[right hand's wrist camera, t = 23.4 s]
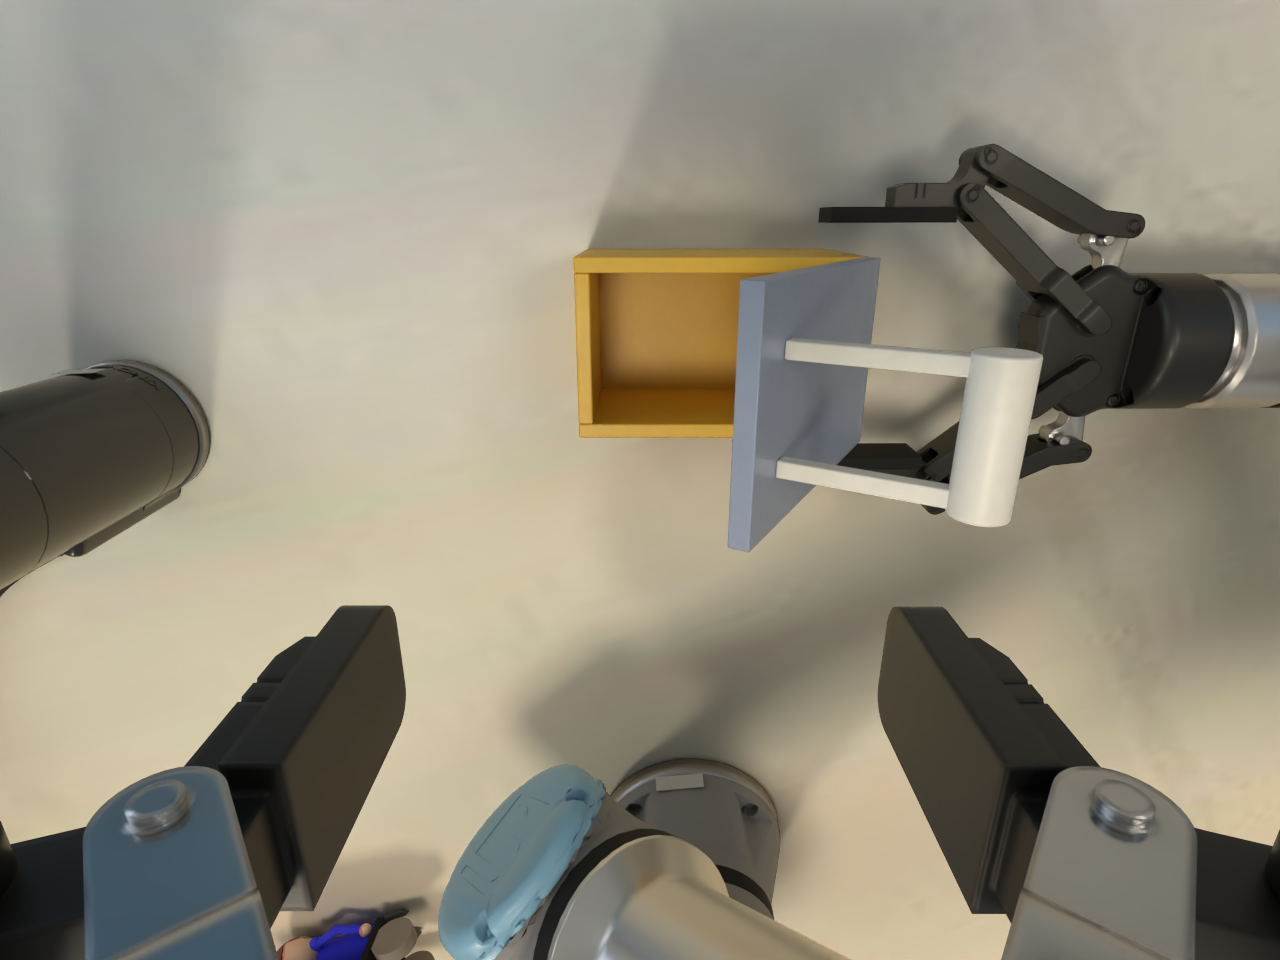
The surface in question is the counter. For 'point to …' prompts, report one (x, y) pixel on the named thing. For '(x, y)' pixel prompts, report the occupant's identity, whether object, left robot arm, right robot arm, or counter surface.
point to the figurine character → (360, 942)
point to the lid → (857, 403)
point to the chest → (666, 336)
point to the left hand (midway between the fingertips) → (813, 342)
